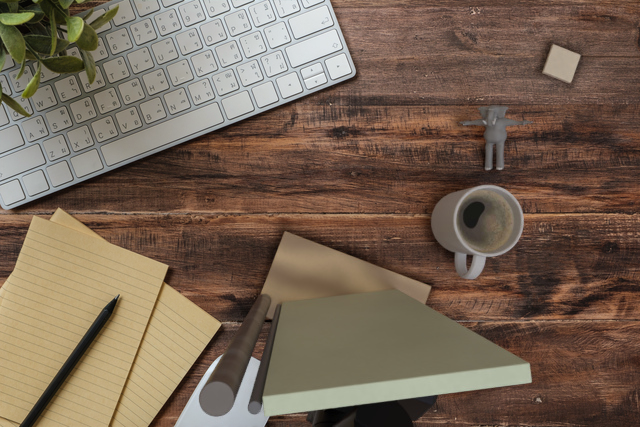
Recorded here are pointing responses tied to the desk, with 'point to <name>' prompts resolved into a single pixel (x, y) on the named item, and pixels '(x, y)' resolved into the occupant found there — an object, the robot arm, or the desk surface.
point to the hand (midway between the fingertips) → (361, 313)
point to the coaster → (561, 64)
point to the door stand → (290, 285)
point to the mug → (477, 225)
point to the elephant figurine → (494, 132)
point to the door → (372, 354)
